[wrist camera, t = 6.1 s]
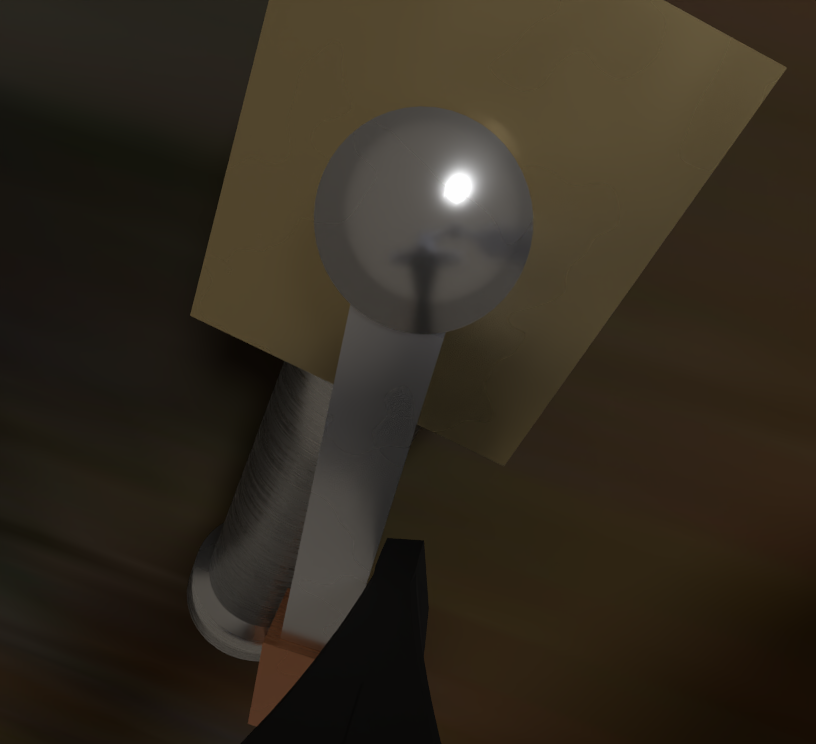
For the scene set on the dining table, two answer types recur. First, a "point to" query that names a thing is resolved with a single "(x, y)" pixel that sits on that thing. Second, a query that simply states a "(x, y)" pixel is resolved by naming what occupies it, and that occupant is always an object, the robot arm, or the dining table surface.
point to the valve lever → (390, 339)
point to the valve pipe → (551, 203)
